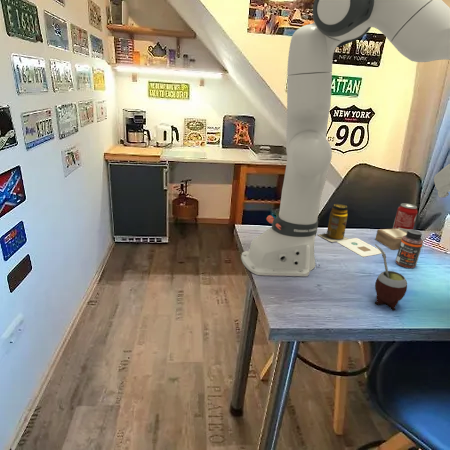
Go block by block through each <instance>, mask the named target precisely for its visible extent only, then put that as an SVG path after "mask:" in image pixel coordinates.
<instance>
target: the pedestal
mask: <svg viewBox="0 0 450 450" xmlns="http://www.w3.org/2000/svg"><path fill="white" fill-rule="evenodd" d="M405 235H407V233H406V232H404V231H402V230H400V229H398V228H397V229H393V228H380V229H377V231H376V235H375V239H374V240H375V241H377V242H378V243H380V244H382V245H383V246H385V247H387V248H388V249H390V250H392V251H394V250H399V247H400V243H401V239H402V237H403V236H405Z"/></svg>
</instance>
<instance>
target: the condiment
mask: <svg viewBox="0 0 450 450" xmlns="http://www.w3.org/2000/svg"><path fill="white" fill-rule="evenodd" d="M348 209H349V207H348V206H347V205H345V204H341V203H334V204H332V208H331V211H330V213H329V217H328V223H327V230H326V233H319V234H318V236H319V237H320V238H322V239H325V240H327V241H329V242H331V243H334V242H335V243H336V241H341V240H346V239H350V238H348V237H346V236H345V232H346V226H347V223H348V222H347V221H348Z"/></svg>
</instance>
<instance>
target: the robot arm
mask: <svg viewBox="0 0 450 450" xmlns="http://www.w3.org/2000/svg"><path fill="white" fill-rule="evenodd" d="M312 19H313V23H309V24H305V25H303V26H301V27H299V28H297V29H296V30H295V31H294V32H293V33H292V36H291V39H290V42H289V43H290V44H289V50H288V57H287V72H286V74H287V75H286V76H287V79H286V80H287V81H286V82H287V83H286V90H287V92H286V94H287V95H286V98H287V99H286V137H285V138H286V139H285V140H286V141H285V142H286V143H285V144H286V148H285V150H286V151H285V152H286V166H285V171H284V178H283V184H282V189H281V196H280V197H281V198H280V202H279V203H280V205H279V211H278V212H279V213H278V215H277V216H276V217H273V216H272V215H271V214H269V215H267V217H266V218H265V219H266V221H267V222H268V223H269V224H271V227H270V228H269V229H267V230H266V231H264V232H263V233H261V234H259V235H258V236H256V237H254V238H253V239H252V241H251V243H250V247H249V249H248V250H245V251H243V252H242V253H241V256H240V260H241V263H242V264H243V266H244V267H245V268H246V269H247V270H248V271H249V272H251V273H253V274H254V275H257V276H281V277H308V276H309V275H310V272H311V271H312V270H313V269H315V267H316V257H315V241H316V236H317V232H318V228H319V220H318V217H319V211H320V207H321V198H322V195H323V190H324V188H325V184H326V181H327V178H328V173H329V170H330V165H331V160H332V157H333V154H332V153H333V151H332V146H331V144H330V142H329V141H328V139H327V133H328V131H327V130H328V122H329V115H330V109H331V105H332V103H331V102H332V82H333V81H332V79H333V58H334V54H335V51H336V49H337V48H342V47H344V46H346V45H348V44H350V43H354V42H356V41H357V40H359V39H361V38H362V37H364V36H365V35H366V34H367V33H369V31H370V30H371V29H372V28H374V29H376V30H378V31H380V33H382V34H383V35H384V37H385V38H386V39H387V41H389V42H390V43H391V44H392V45H393V47H394V48H395V49H396V50H397V51H398V52H399V53H400V54H401V55H402V56H404V57H405V58H406V59H408V60H410V61H411V62H415V63H428V62H434V61H441V60H443V61H444V60H448V61H449V60H450V6H449V5H448V4H447V3H446V2H445V1H443V0H314V1H313V6H312ZM433 182H434V185H435V189H436V190H437V196H438V197H439V198H447V197H449V196H450V194H449V193H450V163H448V164H447V165H445V167H443V168H442V169H441V170H440V171H438V172H437V173H436V174H435V175H434V176H433Z"/></svg>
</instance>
